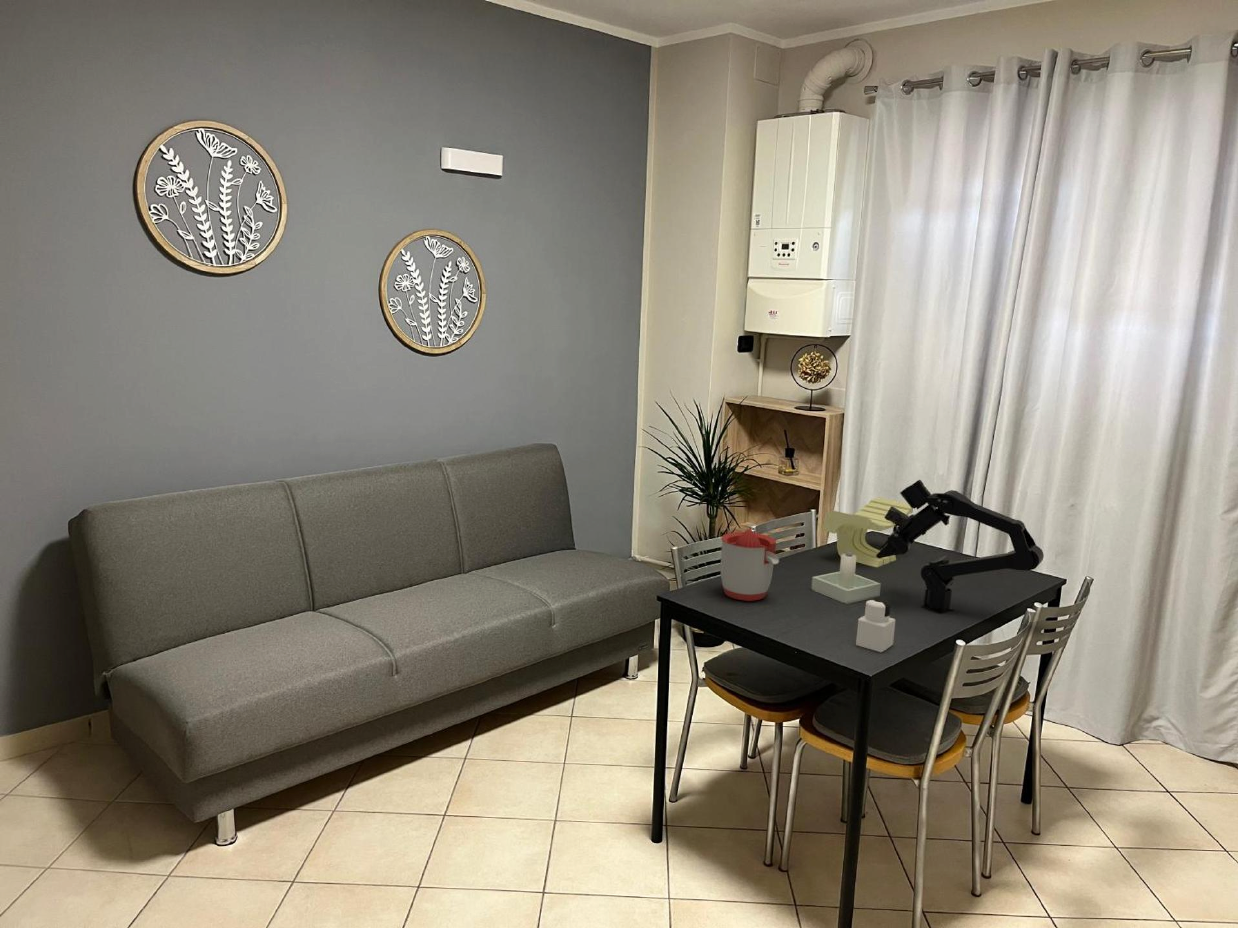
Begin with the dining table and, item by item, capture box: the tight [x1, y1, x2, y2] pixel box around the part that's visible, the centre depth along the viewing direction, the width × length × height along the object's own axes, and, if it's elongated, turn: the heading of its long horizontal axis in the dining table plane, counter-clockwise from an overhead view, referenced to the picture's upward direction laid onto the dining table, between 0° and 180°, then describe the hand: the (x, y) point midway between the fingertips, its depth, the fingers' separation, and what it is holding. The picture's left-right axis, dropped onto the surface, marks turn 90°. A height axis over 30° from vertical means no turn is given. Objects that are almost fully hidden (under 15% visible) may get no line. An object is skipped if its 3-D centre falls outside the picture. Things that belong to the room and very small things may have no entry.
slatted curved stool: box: [822, 497, 914, 568], centre depth 311 cm, size 30×16×18 cm, turn 136°
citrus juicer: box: [720, 528, 780, 602], centre depth 268 cm, size 16×17×20 cm
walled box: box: [811, 571, 882, 605], centre depth 275 cm, size 14×14×4 cm
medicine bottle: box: [855, 597, 896, 653], centre depth 235 cm, size 7×7×12 cm
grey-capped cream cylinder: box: [838, 552, 857, 589], centre depth 274 cm, size 4×4×12 cm
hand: (879, 552), depth 270 cm, fingers open, 9 cm apart
